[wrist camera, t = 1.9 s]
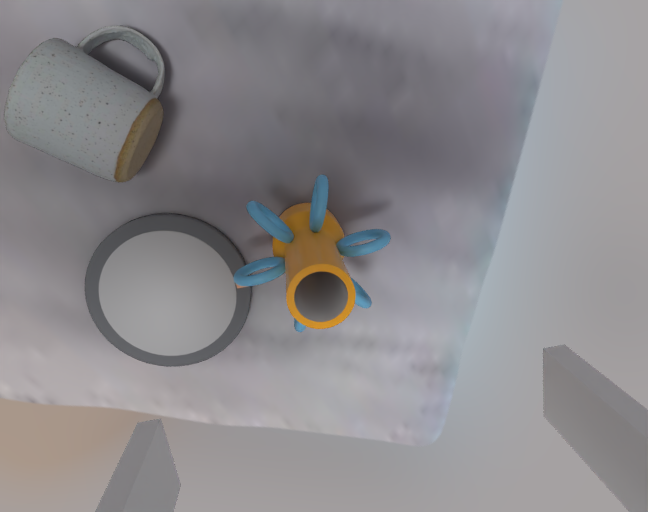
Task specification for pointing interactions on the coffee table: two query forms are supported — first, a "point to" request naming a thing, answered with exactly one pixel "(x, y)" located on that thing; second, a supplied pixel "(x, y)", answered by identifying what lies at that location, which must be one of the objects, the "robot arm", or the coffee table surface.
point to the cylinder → (312, 260)
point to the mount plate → (167, 290)
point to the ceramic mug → (86, 106)
